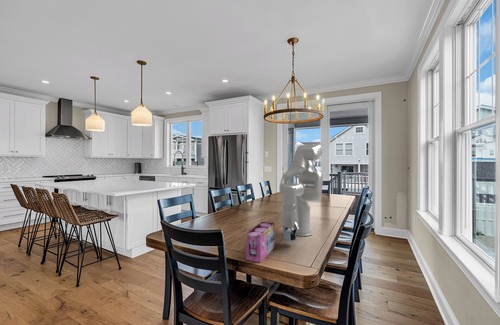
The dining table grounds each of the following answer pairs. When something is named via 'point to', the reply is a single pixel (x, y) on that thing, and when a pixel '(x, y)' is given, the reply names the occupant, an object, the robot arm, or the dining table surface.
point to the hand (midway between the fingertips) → (289, 238)
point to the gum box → (260, 241)
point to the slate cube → (287, 235)
